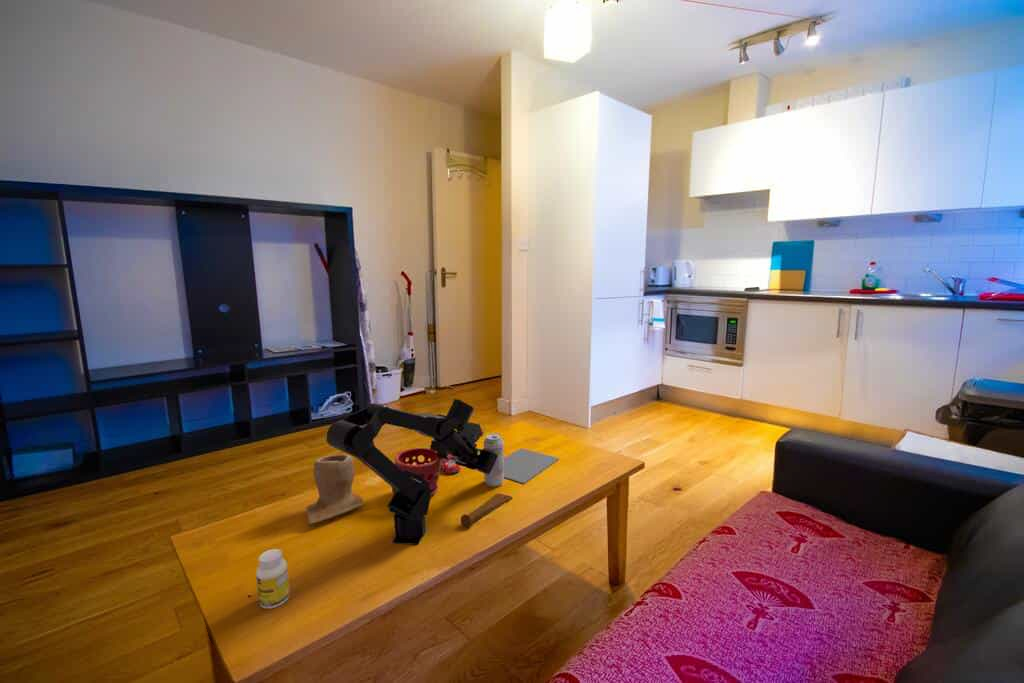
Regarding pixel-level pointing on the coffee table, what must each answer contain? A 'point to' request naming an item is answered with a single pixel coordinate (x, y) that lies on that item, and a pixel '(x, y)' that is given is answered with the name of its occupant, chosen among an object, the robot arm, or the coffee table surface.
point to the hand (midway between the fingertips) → (480, 467)
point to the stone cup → (333, 488)
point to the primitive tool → (484, 509)
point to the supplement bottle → (272, 579)
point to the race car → (450, 466)
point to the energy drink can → (497, 471)
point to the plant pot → (421, 465)
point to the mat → (526, 465)
